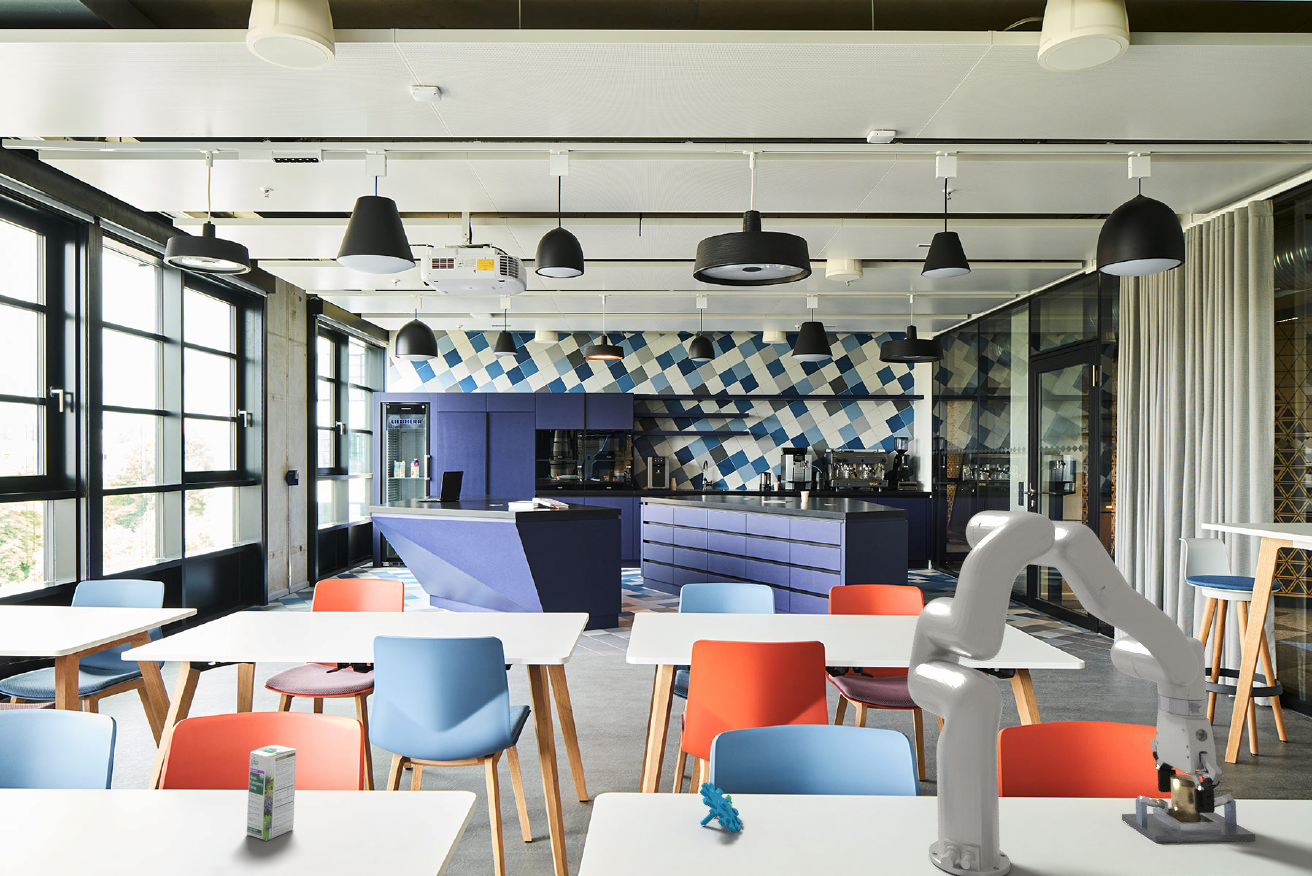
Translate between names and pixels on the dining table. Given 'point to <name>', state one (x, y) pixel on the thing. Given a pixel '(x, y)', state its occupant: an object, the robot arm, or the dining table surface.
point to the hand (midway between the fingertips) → (1185, 801)
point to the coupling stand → (1187, 823)
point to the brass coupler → (1183, 799)
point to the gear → (720, 808)
